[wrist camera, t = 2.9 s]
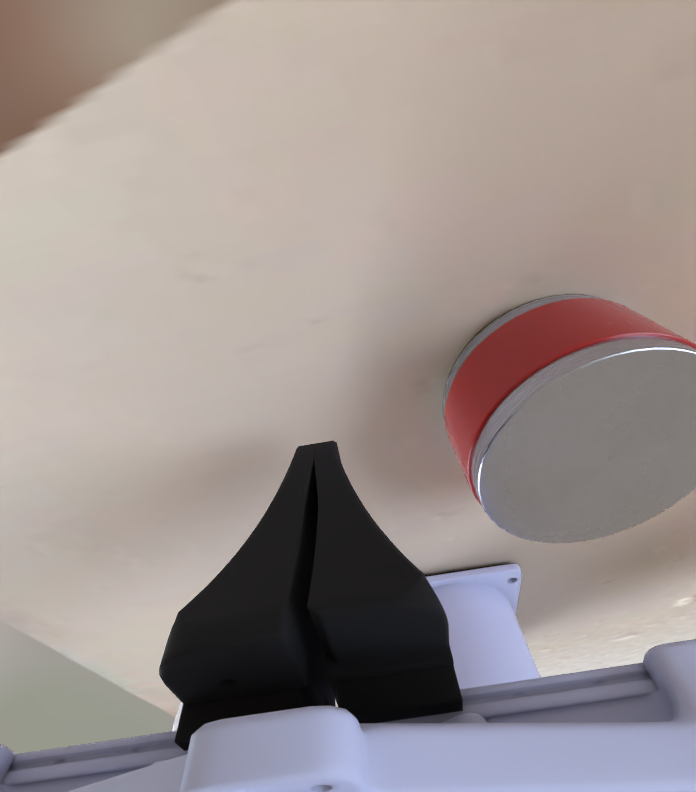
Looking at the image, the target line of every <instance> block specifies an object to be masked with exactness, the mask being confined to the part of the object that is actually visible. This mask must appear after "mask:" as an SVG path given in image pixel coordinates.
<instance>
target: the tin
mask: <svg viewBox="0 0 696 792" xmlns="http://www.w3.org/2000/svg"><path fill="white" fill-rule="evenodd" d="M443 415H444V420H445V425H446V431H447V434H448V438H449V440H450V442H451V445H452V447H453V449H454V451H455V454H456V456H457V458H458V460H459V463H460V465H461V467H462V470H463V472H464V474H465V476H466V479H467V481H468V483H469V485H470V488H471V490H472V492H473V494H474V496H475V498H476V499H477V500H478V501H479V503H480V504H481V505H482V507H483V509H484V511H485V512H486V513H487V515H488V516H489V517H490V519H491V520H492V521H494V522H495V523H496V524H497V525H498V526H499V527H501V528H502V529H504V530H505V531H507V532H509V533H511V534H513V535H515V536H518V537H520V538H524V539H527V540H531V541H537V542H544V543H572V542H580V541H587V540H592V539H597V538H601V537H605V536H608V535H612V534H615V533H618V532H621V531H623V530H626V529H629V528H631V527H633V526H636V525H638V524H641V523H643V522H645V521H647V520H649V519H650V518H652V517H654V516H656V515H658V514H660V513H661V512H663V511H665V510H666V509H668V508H670V507H671V506H672V505H674V504H675V503H677V502H678V501H680V500H681V499H682V498H684V497H685V496H686V495H687V494H689V493H690V492H691V491H692V490H694V489H695V488H696V344H694V343H692V342H690V341H688V340H687V339H685V338H683V337H681V336H679V335H677V334H675V333H674V332H672V331H670V330H668V329H666V328H664V327H662V326H661V325H659V324H657V323H655V322H653V321H651V320H650V319H648V318H646V317H644V316H642V315H640V314H638V313H637V312H635V311H633V310H631V309H629V308H627V307H626V306H624V305H621V304H618V303H615V302H612V301H609V300H604V299H601V298H598V297H594V296H588V295H576V294H567V295H558V296H551V297H547V298H542V299H538V300H535V301H532V302H530V303H527V304H524V305H522V306H520V307H517V308H515V309H513V310H511V311H509V312H507V313H506V314H504V315H503V316H501V317H499V318H498V319H496V320H495V321H493V322H492V323H491V324H489V325H488V326H487V327H486V328H484V329H483V330H482V331H481V332H480V333H479V334H478V335H477V336H476V337H475V338H474V339H472V341H471V342H470V343H469V344H468V345H467V347H466V348H465V349H464V350H463V351H462V353H461V354H460V356H459V357H458V359H457V360H456V362H455V364H454V366H453V368H452V370H451V372H450V374H449V377H448V380H447V382H446V385H445V390H444V395H443Z"/></svg>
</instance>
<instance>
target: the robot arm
mask: <svg viewBox="0 0 696 792" xmlns="http://www.w3.org/2000/svg"><path fill="white" fill-rule="evenodd" d="M521 575H522V572H521V569H520V567H519V566H518V565H517V564H506V565H499V566H493V567H486V568H479V569H473V570H466V571H460V572H453V573H447V574H440V575H434V576H427V577H425V575H424V574H423V573H422V572H421V571H420V570H419V569H418V568H417V567H416V566H414V565H413V564H412V563H411V562H410V561H409V560H408V559H407V558H406V557H405V556H404V555H403V554H402V553H401V552H400V551H399V550H398V549H397V548H396V546H395V545H394V544H393V543H392V542H391V541H390V540H389V538H388V537H387V536H386V535H385V534H384V533H383V531H382V530H381V529H380V528H379V526H378V525H377V524H376V522H375V521H374V520H373V519H372V517H371V516H370V514H369V513H368V511H367V510H366V509H365V507H364V506H363V504H362V502H361V501H360V499H359V498H358V496H357V494H356V492H355V491H354V489H353V487H352V485H351V483H350V481H349V479H348V477H347V475H346V473H345V471H344V469H343V466H342V464H341V460H340V455H339V451H338V446H337V443H336V442H334V441H328V442H322V443H316V444H310V445H304V446H299V447H298V448H297V449H296V452H295V454H294V457H293V459H292V462H291V464H290V467H289V469H288V471H287V473H286V475H285V478H284V480H283V482H282V484H281V486H280V488H279V490H278V492H277V493H276V495H275V497H274V499H273V501H272V502H271V504H270V506H269V508H268V509H267V511H266V513H265V514H264V516H263V517H262V519H261V521H260V522H259V524H258V525H257V527H256V528H255V530H254V531H253V532H252V534H251V535H250V537H249V538H248V539H247V541H246V542H245V543H244V544H243V546H242V547H241V548H240V550H239V551H238V552H237V553H236V555H235V556H234V557H233V558H232V559H231V561H230V562H229V563H228V564H227V565H226V566H225V567H224V568H223V569H222V571H221V572H220V573H219V574H218V575H217V576H216V577H215V578H214V579H213V580H212V581H211V582H210V583H209V585H208V586H206V587H205V588H204V589H203V590H202V591H201V592H200V593H199V594H198V595H197V596H196V597H195V598H194V599H193V600H192V601H190V602H189V603H188V604H187V605H186V606H185V607H184V608H183V609H182V610H181V611H179V612H178V615H177V617H176V620H175V622H174V625H173V627H172V629H171V632H170V635H169V638H168V641H167V644H166V648H165V651H164V654H163V658H162V661H161V665H160V668H159V674H160V677H161V678H162V680H163V682H164V683H165V685H166V686H167V687H168V688H169V689H170V690H171V691H172V692H173V693H174V694H175V695H176V696H177V698H178V699H179V700H180V701H181V702H182V703H183V707H182V711H181V715H180V719H179V724H178V728H177V731H171V732H164V733H157V734H150V735H144V736H137V737H130V738H123V739H116V740H109V741H103V742H96V743H88V744H82V745H75V746H68V747H61V748H55V749H47V750H41V751H34V752H27V753H20V754H15V753H14V751H12V750H11V749H10V748H8V747H6V746H4V745H1V744H0V792H696V639H694V640H688V641H681V642H674V643H667V644H662V645H658V646H655V647H653V648H651V649H649V650H648V651H647V652H646V654H645V656H644V660H643V663H638V664H631V665H624V666H617V667H610V668H604V669H597V670H590V671H583V672H576V673H569V674H562V675H555V676H549V677H542V678H541V676H540V674H539V672H538V669H537V667H536V664H535V662H534V660H533V657H532V655H531V652H530V650H529V648H528V645H527V643H526V640H525V638H524V636H523V633H522V631H521V628H520V626H519V624H518V621H517V619H516V610H517V603H518V596H519V589H520V582H521ZM335 699H336V702H337V704H338V707H335Z"/></svg>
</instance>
